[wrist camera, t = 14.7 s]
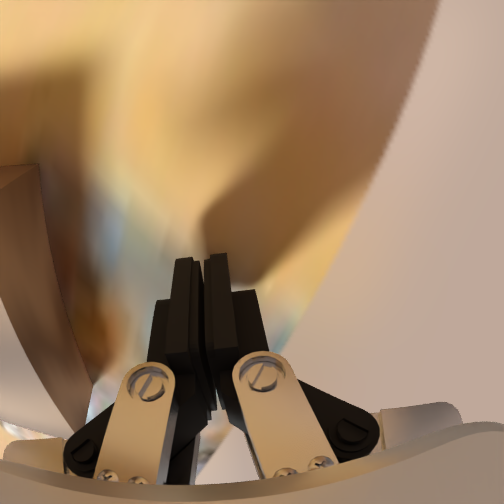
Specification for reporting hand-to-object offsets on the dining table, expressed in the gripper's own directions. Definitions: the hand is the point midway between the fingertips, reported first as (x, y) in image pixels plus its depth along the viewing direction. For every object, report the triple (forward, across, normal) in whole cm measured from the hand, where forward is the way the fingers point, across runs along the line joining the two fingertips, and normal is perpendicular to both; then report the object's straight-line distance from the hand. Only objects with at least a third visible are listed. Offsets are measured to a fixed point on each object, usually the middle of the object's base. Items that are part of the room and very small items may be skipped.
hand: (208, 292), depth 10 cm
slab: (+1, +10, 0) cm, 10 cm away
